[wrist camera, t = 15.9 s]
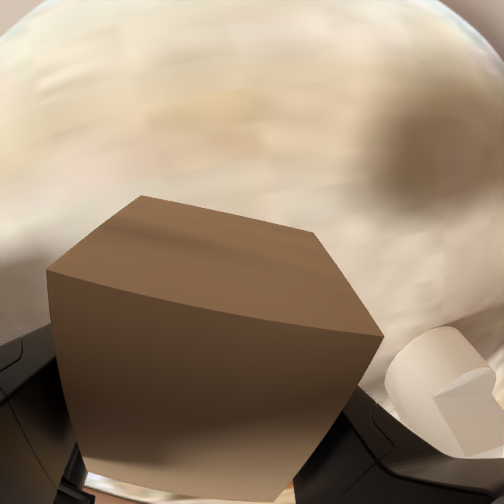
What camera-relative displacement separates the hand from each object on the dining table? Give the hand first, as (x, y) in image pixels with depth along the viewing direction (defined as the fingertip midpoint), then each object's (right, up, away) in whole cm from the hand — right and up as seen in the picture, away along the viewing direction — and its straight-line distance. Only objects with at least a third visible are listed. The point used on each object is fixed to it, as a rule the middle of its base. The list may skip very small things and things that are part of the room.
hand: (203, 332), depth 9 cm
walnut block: (0, +1, +1) cm, 1 cm away
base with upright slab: (+18, -8, +16) cm, 25 cm away
